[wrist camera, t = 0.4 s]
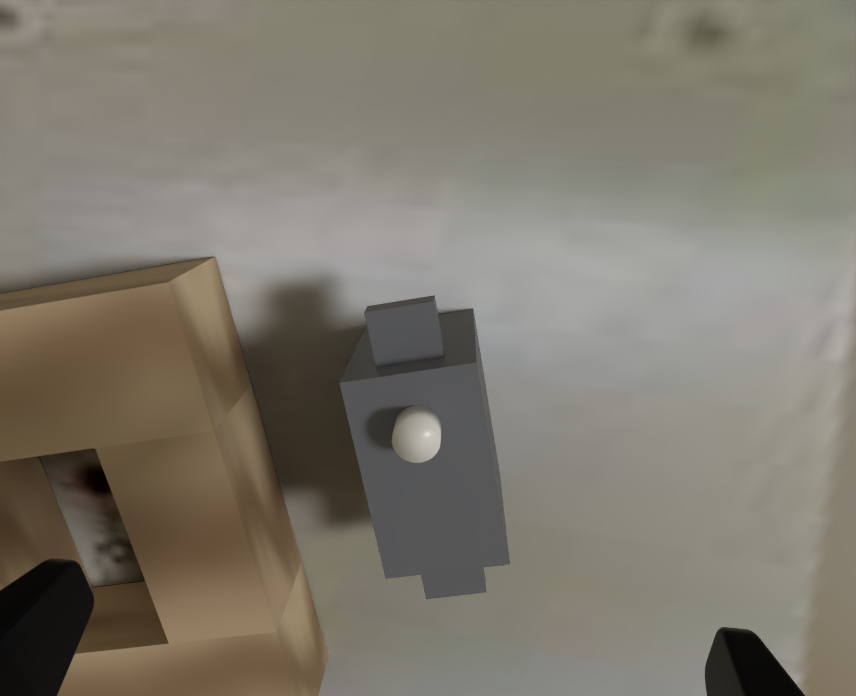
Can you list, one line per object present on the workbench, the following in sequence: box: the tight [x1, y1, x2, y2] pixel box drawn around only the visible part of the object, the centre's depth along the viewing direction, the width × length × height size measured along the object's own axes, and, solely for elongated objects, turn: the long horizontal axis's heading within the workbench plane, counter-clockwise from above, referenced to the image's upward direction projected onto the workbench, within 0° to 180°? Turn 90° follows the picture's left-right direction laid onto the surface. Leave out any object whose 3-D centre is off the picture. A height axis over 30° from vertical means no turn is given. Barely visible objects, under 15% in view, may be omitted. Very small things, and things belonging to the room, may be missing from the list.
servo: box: [339, 295, 510, 599], centre depth 19 cm, size 9×4×6 cm, turn 10°
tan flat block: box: [0, 257, 328, 696], centre depth 22 cm, size 16×12×4 cm
